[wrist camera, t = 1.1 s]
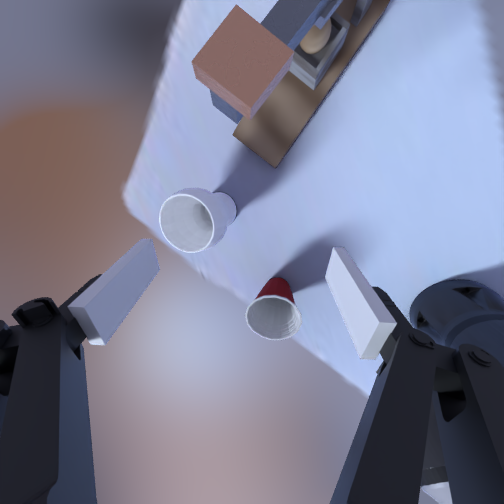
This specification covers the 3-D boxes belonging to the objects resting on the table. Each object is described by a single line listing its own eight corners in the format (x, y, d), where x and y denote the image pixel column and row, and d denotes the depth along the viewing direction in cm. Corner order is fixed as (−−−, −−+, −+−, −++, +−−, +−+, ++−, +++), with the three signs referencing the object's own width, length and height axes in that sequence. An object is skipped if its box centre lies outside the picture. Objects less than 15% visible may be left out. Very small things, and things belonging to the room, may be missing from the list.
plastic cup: (276, 314, 52) (270, 351, 41) (247, 284, 51) (233, 314, 40) (311, 292, 48) (314, 327, 37) (281, 259, 46) (275, 285, 35)
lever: (333, -67, 22) (358, -153, 17) (377, -29, 22) (413, -104, 17) (202, 102, 21) (191, 61, 16) (248, 139, 21) (250, 108, 17)
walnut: (335, 34, 27) (341, 12, 24) (315, 66, 29) (317, 50, 25) (312, 15, 27) (314, -11, 23) (292, 48, 29) (292, 30, 25)
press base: (331, -35, 29) (359, -221, 16) (384, 11, 30) (458, -132, 16) (235, 136, 40) (201, 116, 26) (275, 168, 40) (264, 164, 26)
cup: (252, 205, 44) (231, 218, 30) (226, 241, 48) (197, 268, 34) (212, 174, 43) (172, 174, 29) (190, 214, 47) (146, 229, 34)
